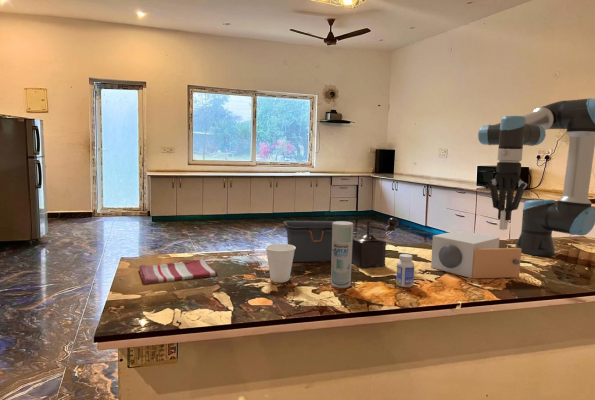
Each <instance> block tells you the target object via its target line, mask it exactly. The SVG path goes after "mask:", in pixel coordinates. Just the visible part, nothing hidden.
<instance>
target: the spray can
mask: <svg viewBox="0 0 595 400" xmlns="http://www.w3.org/2000/svg"><path fill="white" fill-rule="evenodd" d="M353 238H354V223H353V222H351V221H344V220H342V221H341V220H339V221H338V220H337V221H333V224H332V261H331V269H330V272H331V273H330V279H331V280H330V285H331V286H332V287H334V288H339V289H345V288H349V287H351V285H352V284H351V282H352V280H351V278H352V264H353V263H352V241H353Z"/></svg>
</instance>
